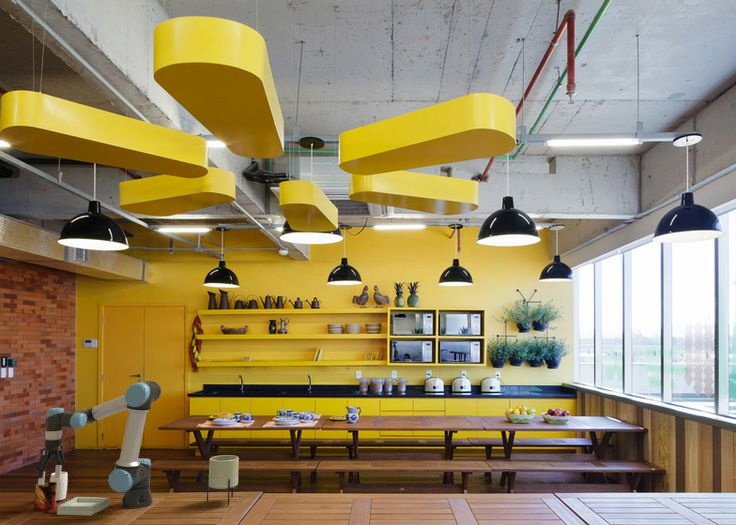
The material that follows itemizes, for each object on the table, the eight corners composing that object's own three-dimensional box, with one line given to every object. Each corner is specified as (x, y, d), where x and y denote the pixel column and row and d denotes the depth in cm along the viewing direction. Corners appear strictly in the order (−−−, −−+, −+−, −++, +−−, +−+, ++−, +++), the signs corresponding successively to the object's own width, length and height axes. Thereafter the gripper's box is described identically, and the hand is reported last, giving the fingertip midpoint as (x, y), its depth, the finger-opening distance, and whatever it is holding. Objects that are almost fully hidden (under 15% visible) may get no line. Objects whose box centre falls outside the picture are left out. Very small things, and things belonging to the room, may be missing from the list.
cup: (44, 502, 298) (46, 474, 299) (55, 498, 306) (57, 471, 308) (58, 503, 296) (60, 475, 298) (69, 499, 304) (71, 471, 306)
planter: (243, 500, 304) (245, 456, 307) (225, 508, 290) (226, 462, 293) (221, 497, 310) (222, 453, 313) (201, 504, 296) (203, 459, 299)
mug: (53, 512, 281) (55, 487, 282) (29, 511, 283) (31, 486, 285) (66, 507, 290) (68, 483, 292) (43, 505, 293) (45, 481, 294)
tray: (109, 505, 293) (109, 497, 293) (92, 515, 277) (92, 507, 278) (75, 504, 294) (76, 496, 295) (57, 514, 278) (57, 506, 279)
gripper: (60, 434, 304) (57, 475, 301) (30, 443, 279) (26, 487, 277) (74, 434, 304) (70, 475, 301) (44, 443, 279) (40, 488, 276)
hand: (49, 481), depth 289 cm, fingers open, 13 cm apart
